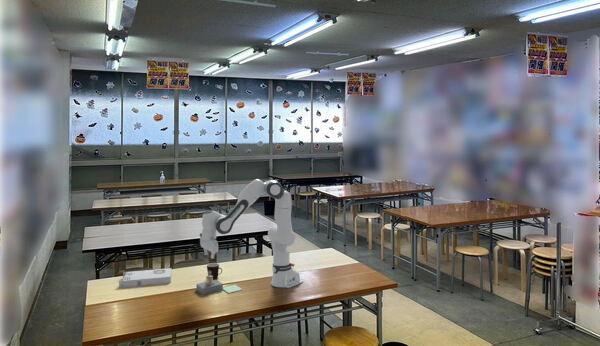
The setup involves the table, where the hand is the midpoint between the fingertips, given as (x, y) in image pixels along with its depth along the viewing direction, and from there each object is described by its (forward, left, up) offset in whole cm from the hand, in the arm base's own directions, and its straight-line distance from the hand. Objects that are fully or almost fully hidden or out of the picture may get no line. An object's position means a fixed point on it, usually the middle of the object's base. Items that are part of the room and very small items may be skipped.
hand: (209, 256), depth 268 cm
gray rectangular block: (0, 0, -23) cm, 23 cm away
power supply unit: (+28, -43, -23) cm, 57 cm away
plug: (0, 0, -23) cm, 23 cm away
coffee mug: (-11, -17, -23) cm, 31 cm away
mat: (-12, +8, -23) cm, 27 cm away
